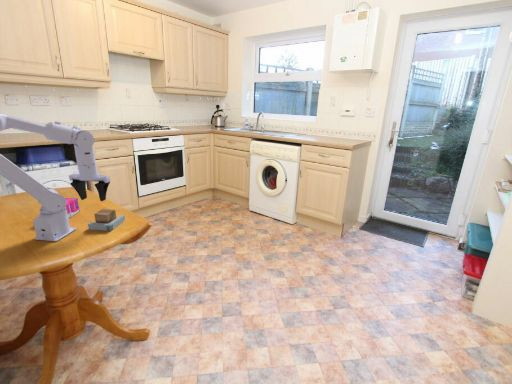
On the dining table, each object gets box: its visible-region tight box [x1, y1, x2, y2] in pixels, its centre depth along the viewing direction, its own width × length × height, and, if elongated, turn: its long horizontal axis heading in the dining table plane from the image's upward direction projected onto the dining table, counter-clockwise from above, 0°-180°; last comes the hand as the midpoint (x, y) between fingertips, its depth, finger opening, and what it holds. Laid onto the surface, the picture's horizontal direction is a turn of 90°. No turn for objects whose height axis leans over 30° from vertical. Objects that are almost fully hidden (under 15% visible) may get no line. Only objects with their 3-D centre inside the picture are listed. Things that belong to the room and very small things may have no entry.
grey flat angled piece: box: [87, 214, 126, 232], centre depth 104 cm, size 10×8×2 cm
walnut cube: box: [93, 208, 117, 224], centre depth 103 cm, size 5×5×5 cm
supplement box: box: [64, 197, 81, 220], centre depth 108 cm, size 6×6×12 cm
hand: (93, 199), depth 102 cm, fingers open, 7 cm apart
